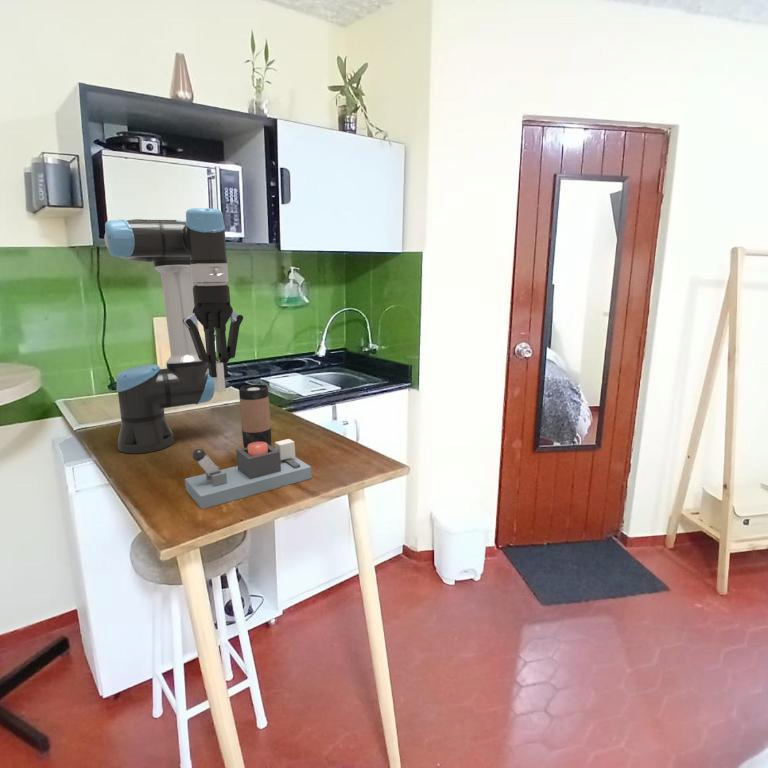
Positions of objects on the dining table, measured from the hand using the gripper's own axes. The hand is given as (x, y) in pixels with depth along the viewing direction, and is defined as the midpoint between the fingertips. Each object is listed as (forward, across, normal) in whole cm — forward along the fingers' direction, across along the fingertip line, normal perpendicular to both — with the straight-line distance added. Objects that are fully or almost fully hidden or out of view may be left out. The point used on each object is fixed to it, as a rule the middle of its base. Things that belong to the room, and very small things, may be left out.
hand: (220, 390), depth 117 cm
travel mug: (+25, +14, +14) cm, 32 cm away
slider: (+20, +16, +1) cm, 26 cm away
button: (+20, +8, -1) cm, 22 cm away
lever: (+20, -3, 0) cm, 20 cm away
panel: (+24, +5, 0) cm, 25 cm away
